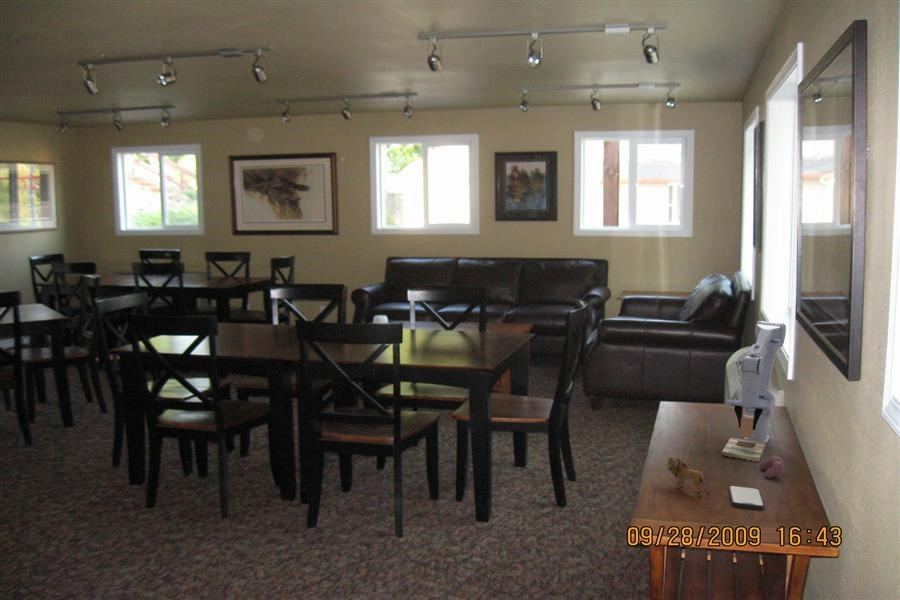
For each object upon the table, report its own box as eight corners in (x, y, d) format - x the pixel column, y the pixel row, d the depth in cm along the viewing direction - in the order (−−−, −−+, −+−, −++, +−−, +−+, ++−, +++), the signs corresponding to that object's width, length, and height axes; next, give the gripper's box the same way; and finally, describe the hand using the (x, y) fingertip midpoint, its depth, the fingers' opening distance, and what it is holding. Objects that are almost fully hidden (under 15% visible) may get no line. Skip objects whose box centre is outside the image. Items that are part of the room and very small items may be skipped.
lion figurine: (661, 485, 248) (663, 456, 247) (671, 481, 252) (672, 453, 251) (706, 499, 238) (708, 469, 236) (715, 495, 241) (717, 465, 240)
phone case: (728, 490, 248) (731, 507, 232) (728, 485, 247) (731, 502, 232) (759, 494, 245) (764, 511, 230) (759, 488, 245) (765, 506, 230)
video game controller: (776, 484, 257) (788, 465, 256) (763, 476, 258) (775, 458, 257) (770, 474, 267) (782, 456, 266) (757, 467, 268) (769, 449, 266)
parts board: (730, 441, 298) (730, 437, 297) (765, 447, 292) (765, 442, 292) (721, 455, 280) (721, 451, 280) (758, 461, 274) (759, 457, 274)
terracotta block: (741, 433, 292) (742, 414, 291) (753, 435, 290) (754, 416, 289) (739, 436, 288) (741, 417, 287) (751, 438, 286) (753, 418, 285)
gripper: (726, 390, 287) (723, 427, 288) (770, 395, 280) (767, 434, 282) (729, 386, 293) (727, 423, 295) (773, 391, 287) (769, 429, 288)
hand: (747, 428), depth 289 cm, fingers closed on terracotta block, 4 cm apart
